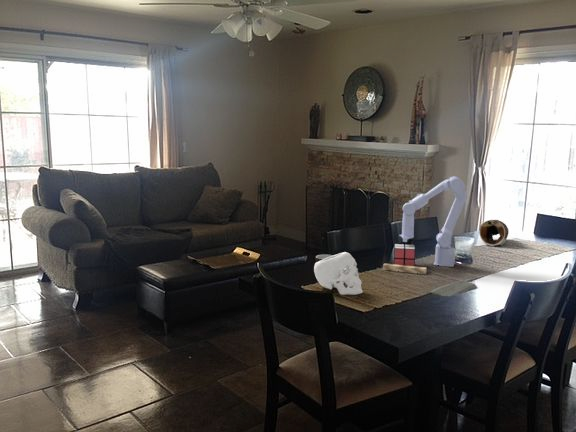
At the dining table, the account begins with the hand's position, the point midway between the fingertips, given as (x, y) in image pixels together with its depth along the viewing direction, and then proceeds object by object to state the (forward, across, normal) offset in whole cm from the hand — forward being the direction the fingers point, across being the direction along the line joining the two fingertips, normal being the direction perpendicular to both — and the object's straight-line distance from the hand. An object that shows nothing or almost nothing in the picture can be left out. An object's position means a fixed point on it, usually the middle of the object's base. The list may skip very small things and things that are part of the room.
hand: (406, 253), depth 262 cm
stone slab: (+6, +37, +27) cm, 46 cm away
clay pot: (+5, -69, +40) cm, 80 cm away
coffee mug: (+5, +41, -28) cm, 50 cm away
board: (+5, +17, +2) cm, 17 cm away
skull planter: (+5, +56, -18) cm, 59 cm away
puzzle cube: (+5, +7, 0) cm, 9 cm away
